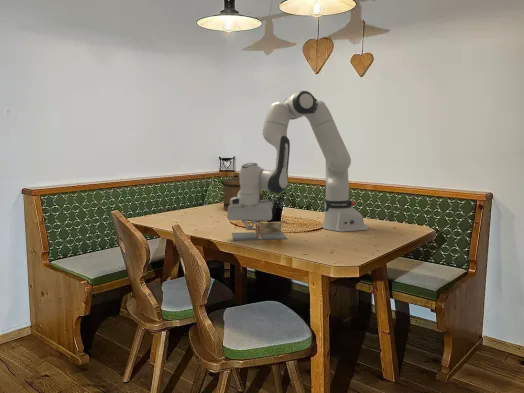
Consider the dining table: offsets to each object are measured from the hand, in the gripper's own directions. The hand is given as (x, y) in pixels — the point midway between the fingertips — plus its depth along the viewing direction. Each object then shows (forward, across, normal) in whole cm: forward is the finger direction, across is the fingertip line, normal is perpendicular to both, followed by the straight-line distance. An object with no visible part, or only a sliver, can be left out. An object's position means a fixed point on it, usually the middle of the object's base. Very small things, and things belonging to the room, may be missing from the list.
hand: (249, 229), depth 216 cm
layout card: (+4, -4, -3) cm, 6 cm away
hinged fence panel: (+3, -3, -1) cm, 5 cm away
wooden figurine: (+4, +2, -38) cm, 38 cm away
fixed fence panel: (+3, -8, -8) cm, 12 cm away
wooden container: (+4, +15, -70) cm, 72 cm away
